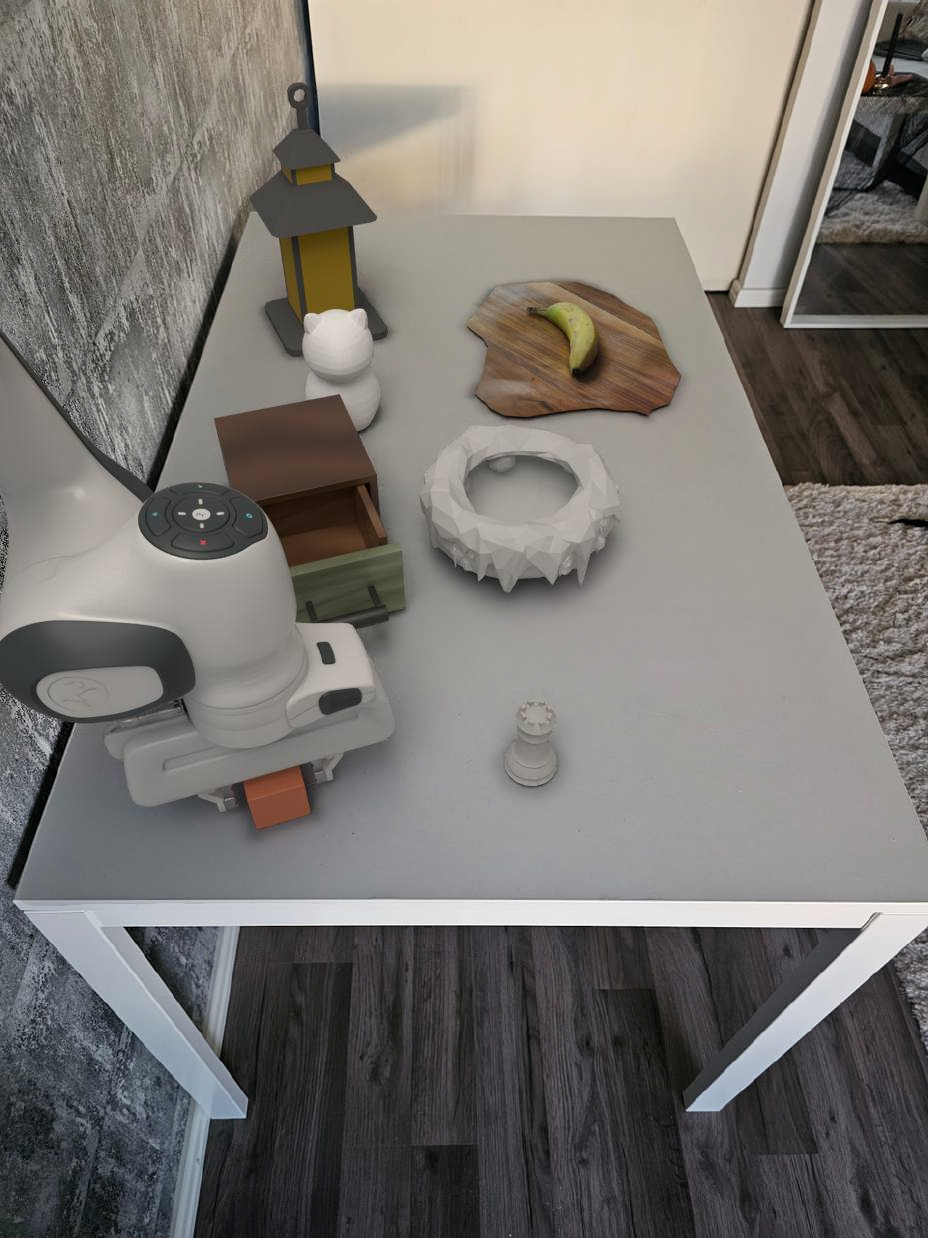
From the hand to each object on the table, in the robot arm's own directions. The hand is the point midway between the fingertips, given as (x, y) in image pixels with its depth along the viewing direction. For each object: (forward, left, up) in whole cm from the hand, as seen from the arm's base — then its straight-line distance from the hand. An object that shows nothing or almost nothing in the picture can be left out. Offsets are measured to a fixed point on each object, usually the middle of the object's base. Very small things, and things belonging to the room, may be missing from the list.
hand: (275, 788), depth 74 cm
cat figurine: (+19, +51, -2) cm, 54 cm away
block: (0, 0, -2) cm, 2 cm away
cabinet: (+10, +34, -2) cm, 35 cm away
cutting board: (+51, +57, -2) cm, 76 cm away
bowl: (+30, +22, -2) cm, 37 cm away
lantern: (+22, +73, -2) cm, 76 cm away
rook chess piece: (+21, -4, -2) cm, 21 cm away
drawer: (+10, +21, -1) cm, 23 cm away
